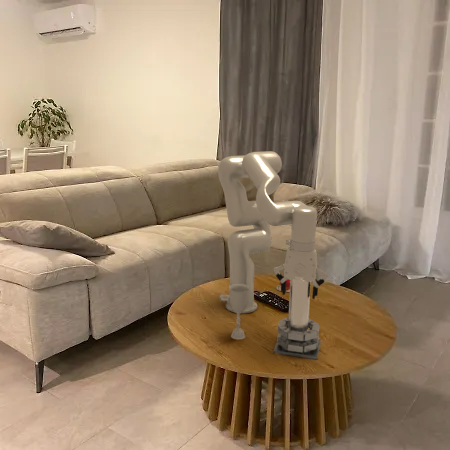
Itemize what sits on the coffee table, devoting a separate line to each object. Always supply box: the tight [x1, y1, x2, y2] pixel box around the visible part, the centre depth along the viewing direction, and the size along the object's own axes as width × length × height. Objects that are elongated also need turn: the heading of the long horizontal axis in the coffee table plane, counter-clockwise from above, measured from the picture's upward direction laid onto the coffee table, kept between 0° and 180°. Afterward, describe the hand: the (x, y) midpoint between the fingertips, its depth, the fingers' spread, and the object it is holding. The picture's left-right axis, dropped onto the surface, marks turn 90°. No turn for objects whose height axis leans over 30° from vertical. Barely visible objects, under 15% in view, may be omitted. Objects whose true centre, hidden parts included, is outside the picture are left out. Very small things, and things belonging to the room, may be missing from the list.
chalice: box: [228, 284, 249, 340], centre depth 162 cm, size 7×7×18 cm
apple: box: [276, 279, 290, 293], centre depth 206 cm, size 8×8×6 cm
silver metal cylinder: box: [288, 276, 312, 344], centre depth 153 cm, size 6×6×25 cm
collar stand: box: [273, 316, 322, 360], centre depth 155 cm, size 14×13×8 cm
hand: (298, 295), depth 153 cm, fingers open, 9 cm apart
